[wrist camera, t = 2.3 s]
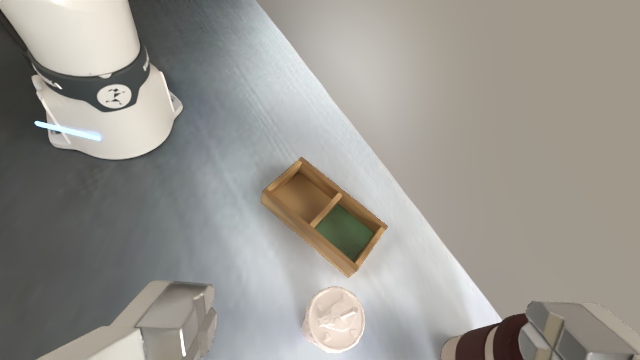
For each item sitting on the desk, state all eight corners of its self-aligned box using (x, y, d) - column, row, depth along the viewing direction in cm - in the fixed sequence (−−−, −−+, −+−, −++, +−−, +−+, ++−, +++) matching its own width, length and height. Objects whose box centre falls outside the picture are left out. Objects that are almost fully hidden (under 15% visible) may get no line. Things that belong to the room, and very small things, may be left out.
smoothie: (345, 347, 39) (392, 339, 28) (297, 362, 37) (327, 360, 25) (331, 296, 42) (369, 270, 30) (286, 307, 40) (309, 283, 28)
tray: (297, 168, 52) (301, 156, 49) (378, 234, 49) (388, 226, 46) (260, 202, 47) (262, 191, 44) (348, 277, 44) (356, 271, 41)
